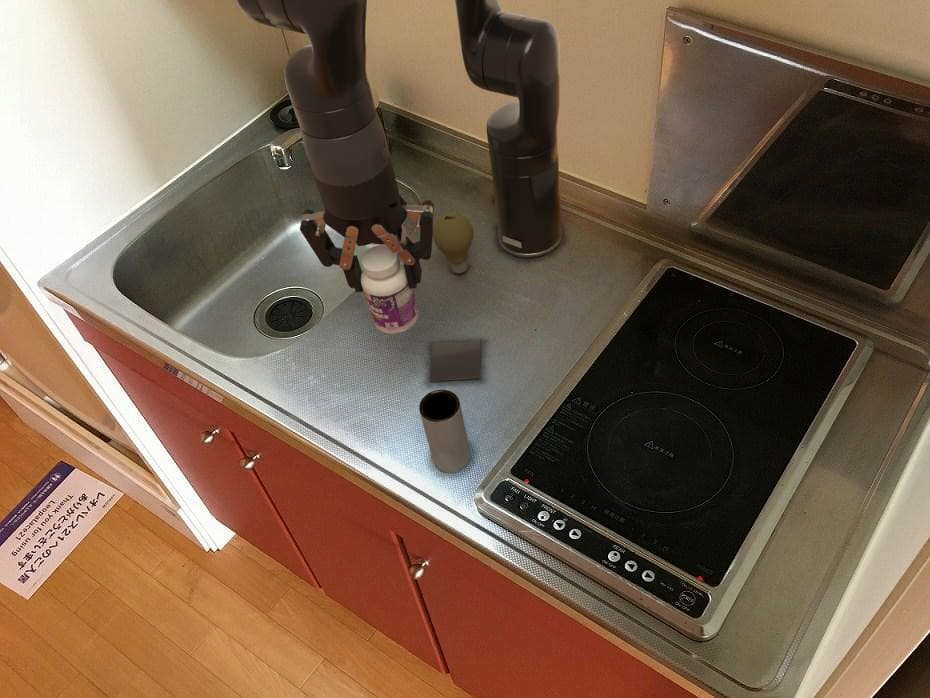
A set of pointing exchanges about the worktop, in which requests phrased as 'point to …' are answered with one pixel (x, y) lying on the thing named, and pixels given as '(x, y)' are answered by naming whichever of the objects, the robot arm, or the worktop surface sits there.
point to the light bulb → (454, 239)
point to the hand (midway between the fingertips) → (386, 284)
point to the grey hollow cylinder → (445, 430)
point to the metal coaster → (455, 361)
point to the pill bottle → (387, 290)
